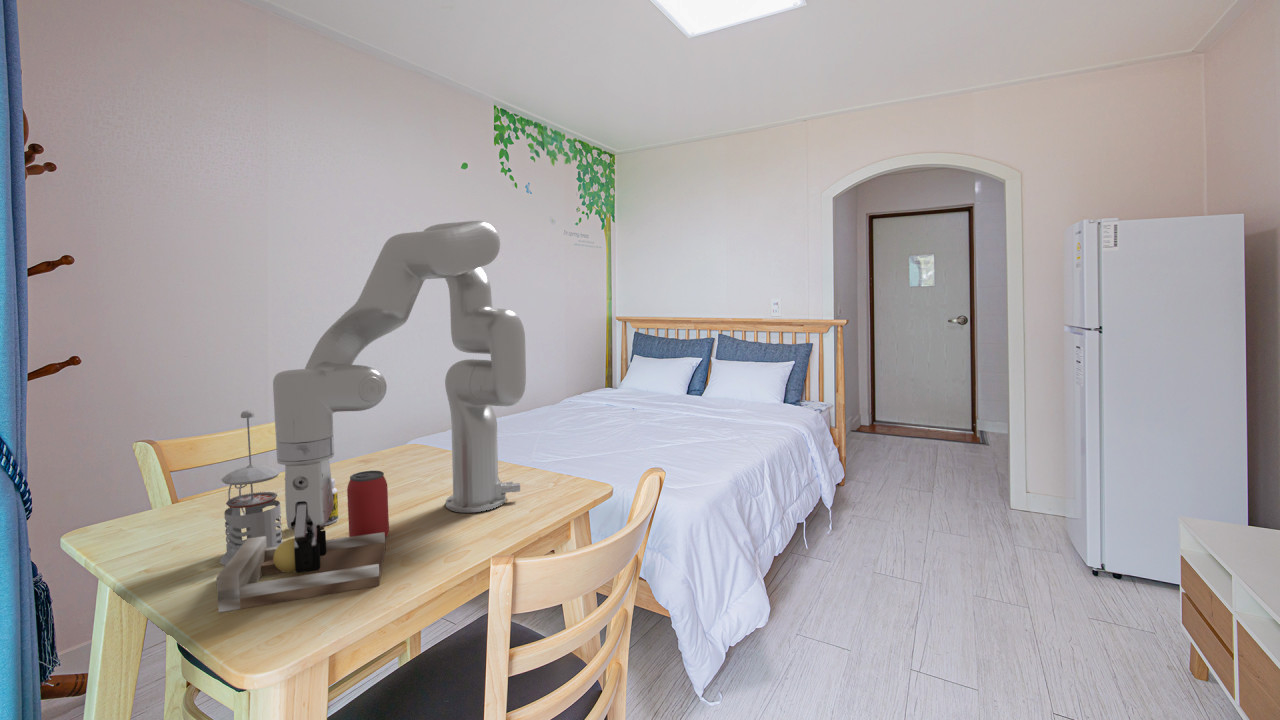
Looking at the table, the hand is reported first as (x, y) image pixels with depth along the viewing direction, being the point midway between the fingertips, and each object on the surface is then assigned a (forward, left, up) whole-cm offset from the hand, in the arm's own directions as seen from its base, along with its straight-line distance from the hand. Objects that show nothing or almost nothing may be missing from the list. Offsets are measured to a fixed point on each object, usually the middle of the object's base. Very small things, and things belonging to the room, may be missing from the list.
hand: (311, 562), depth 84 cm
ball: (+3, 0, +2) cm, 3 cm away
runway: (0, 0, -2) cm, 2 cm away
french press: (+11, -14, -3) cm, 18 cm away
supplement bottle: (+2, -25, -3) cm, 25 cm away
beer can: (-7, -13, -3) cm, 15 cm away
